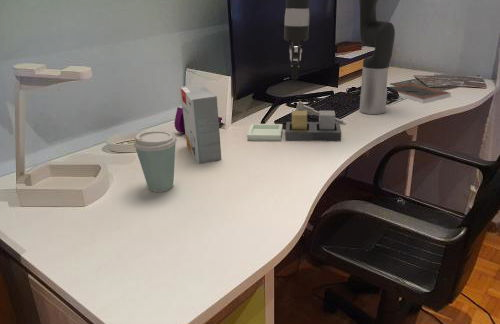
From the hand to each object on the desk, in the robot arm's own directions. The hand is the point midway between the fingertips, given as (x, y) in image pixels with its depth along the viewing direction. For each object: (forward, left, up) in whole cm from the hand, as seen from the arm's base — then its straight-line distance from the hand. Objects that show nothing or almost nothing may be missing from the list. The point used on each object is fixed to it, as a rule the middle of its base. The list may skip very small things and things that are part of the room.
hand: (294, 76), depth 134 cm
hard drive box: (+28, +18, -20) cm, 39 cm away
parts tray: (+10, +2, -20) cm, 22 cm away
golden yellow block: (-2, +2, -20) cm, 20 cm away
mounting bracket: (+33, -3, -20) cm, 38 cm away
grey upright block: (-11, +2, -20) cm, 23 cm away
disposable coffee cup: (+34, +41, -20) cm, 57 cm away
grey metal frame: (-6, +2, -20) cm, 21 cm away
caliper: (-9, -14, -20) cm, 26 cm away
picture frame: (-51, -49, -21) cm, 74 cm away
